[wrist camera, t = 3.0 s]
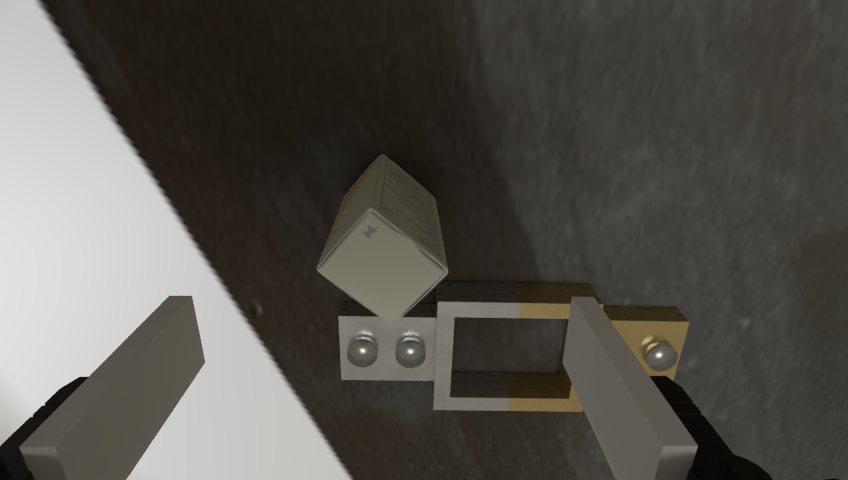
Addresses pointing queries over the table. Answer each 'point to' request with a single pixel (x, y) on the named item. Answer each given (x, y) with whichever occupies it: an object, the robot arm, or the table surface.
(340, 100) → the table surface
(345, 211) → the box
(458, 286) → the link
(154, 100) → the table surface
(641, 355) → the link
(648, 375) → the robot arm
